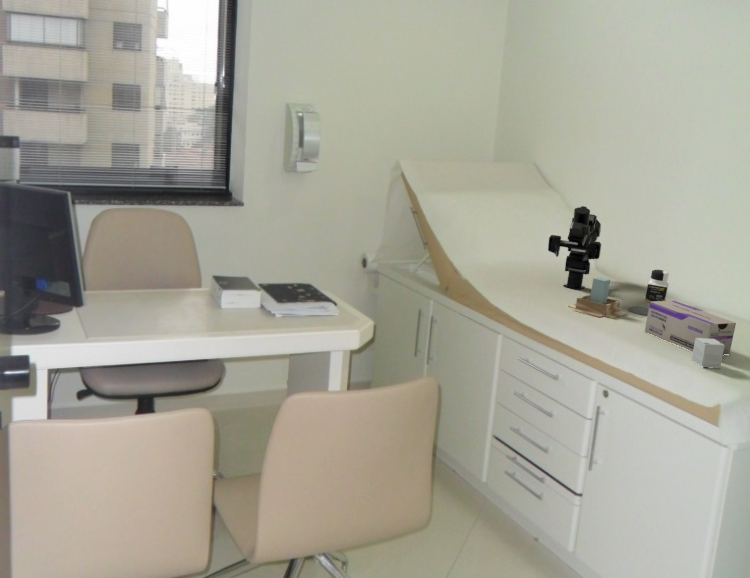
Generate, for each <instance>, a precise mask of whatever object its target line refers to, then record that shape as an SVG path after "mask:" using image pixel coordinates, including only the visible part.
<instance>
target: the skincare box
mask: <svg viewBox="0 0 750 578" xmlns="http://www.w3.org/2000/svg"><path fill="white" fill-rule="evenodd" d="M724 346H725V345H724V344H722V343H720V342H719V341H717V340H715V339H707V338H695V343H694V349H693V353H691V354H692V355H691V358H690V359H691V360H692V361H694V362H696V363H697V364H699V365H700V366H703V367H714V368H713V369H721V366H722V361H723V357H724V356H723V351H724ZM691 360H690V361H691ZM692 361H691V362H692Z"/></svg>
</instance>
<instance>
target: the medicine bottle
mask: <svg viewBox="0 0 750 578" xmlns="http://www.w3.org/2000/svg"><path fill="white" fill-rule="evenodd" d="M669 275H670V274H669V272H668V271H665V270H662V269H653V270H652V271H651V276H650V280H649V281H648V283H647V285H646V286H647V287H646V293H645V297H644V302H646V303H647V302H648V303H650V302H651V301H667V300H666V298H667V295H668V288H669V284H670V283H668V280H669V279H668V278H669Z"/></svg>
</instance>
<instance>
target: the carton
mask: <svg viewBox="0 0 750 578" xmlns="http://www.w3.org/2000/svg"><path fill="white" fill-rule="evenodd" d="M590 296H591V293H590V294H586V295H582V296H580V297H577V298H576V303H573V304H570V305H568V307H569V308H571V309H572V311H573V312H576V311H577V313H581V314H585V315H587V314H588V315H587V316H591V317H596V318H598V319H599V318H603V317H604V318H605V317H606V318H610V319H612V320H613V319H616V318H618V317H622V316H624V314H625V315H626V313H625V312H622V311H621V309H620V308H619V307H620V300H616V299H613V298H610V297H609V298H608V297H607V303H606V305H604V304H600V303H596V302H592V301H590ZM619 310H620V311H619ZM602 316H603V317H602Z"/></svg>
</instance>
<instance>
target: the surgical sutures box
mask: <svg viewBox="0 0 750 578" xmlns="http://www.w3.org/2000/svg"><path fill="white" fill-rule="evenodd" d="M648 308H649V310H648V316H647V315H646V322H645V329H644V332H646V333H645V334H647V333H649V334H652V335H654V336H657V337H659V338H661V339H663V340H666V341H668V342H671V343H674V344H676V345H679V346H681V347H684V348H686V349H688V350H690V351H692V352H693V349H694V343H695V338H707V339H715V340H717V341H719V342H720V343H722V344H724V345H725V346H724V351H723V355H724V354H729V355H730V353H731V348H732V344H733V339H734V333H735V329H736V325H737V323H736V321H735V322H734V321H732V320H729V319H726V318H724V317H720V316H717V315H715V314H713V313H710V312H707V311H703V310H701V309H699V308H696V307H693V306H690V305H687V304H685V303H682V302H680V301H677V300H666V301H651V302H649V306H648ZM649 334H648V335H649ZM654 336H653V337H654ZM659 338H658V339H659ZM661 339H660V340H661ZM663 340H662V341H663ZM666 341H665V342H666ZM668 342H667V343H668Z"/></svg>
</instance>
